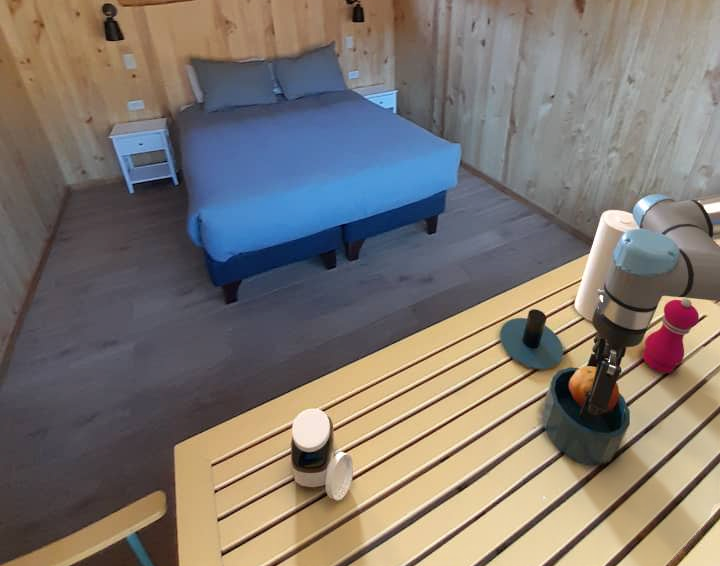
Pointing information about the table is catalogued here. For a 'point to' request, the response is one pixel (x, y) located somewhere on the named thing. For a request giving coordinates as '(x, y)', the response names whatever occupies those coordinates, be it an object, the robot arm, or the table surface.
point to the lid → (531, 341)
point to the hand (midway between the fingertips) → (589, 397)
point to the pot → (582, 424)
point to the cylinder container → (601, 258)
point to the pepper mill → (670, 336)
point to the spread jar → (319, 455)
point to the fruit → (588, 386)
